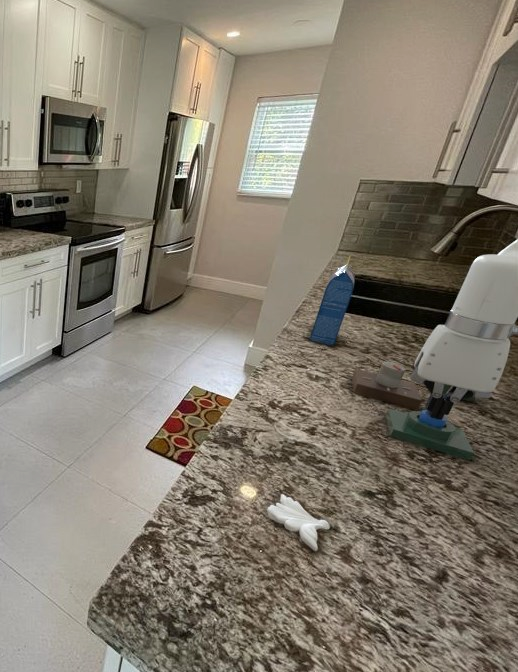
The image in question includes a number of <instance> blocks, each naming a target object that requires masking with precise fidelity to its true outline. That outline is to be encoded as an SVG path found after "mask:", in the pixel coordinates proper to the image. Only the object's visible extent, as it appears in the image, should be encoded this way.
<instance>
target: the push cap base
mask: <svg viewBox="0 0 518 672" xmlns="http://www.w3.org/2000/svg"><path fill="white" fill-rule="evenodd" d="M420 413H421V411H419V410H413V411H409V412H408V413H406V412H403V411H399V410H396V409H393V408H387V410H386V411H385V415H384V416H385V420H386V425H387V429H388V434H389V437H390V438H393V439H397V440H400V441H404V442H407V443H411V444H414V445H416V446H421V447H424V448H426V449H430V450H433V451H437V452H440V453H443V454H446V455H450V456H452V457H456V458H460V459H463V460H466V461H471V460H472V459H473V457H474V455H475V451H474V449H473V448H472V446H471V444H470V442H469V440H468V438H467V436H466V434H465V432H464V430H463V429H462V428H460V427H457V426H455V425H454V424H453V423H452V422H450V421H448V420H447V422H446V424H445V426H444V428H438V427H434V426H431V425H428V424H426V423H424V422H422V421H420V420H419V419H418V418H419V416H420Z"/></svg>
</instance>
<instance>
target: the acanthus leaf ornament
mask: <svg viewBox="0 0 518 672" xmlns="http://www.w3.org/2000/svg"><path fill="white" fill-rule="evenodd" d="M266 511H267V513H266V514H267V517H268V518H269V519H271V520H272V521H274V522H276V523H278V524H281V525H283V526H284V528H285V529H286V530H288V531H290V532H299V537H300V539H301V540H302V542H303V543H305V544H306V545H307V546H308V547H309V548H310V549H311V550H312V551H314V552H317V551H318V549H319V548H318V544H317V543H318V539H319V538H318V532H317V530H319V529H323V530H329V529H330V528H331V527H330V523H329V522H328V521H327V520H324V519H317V518H315V517H313V516H312V515H311V514H310V513H308V512H307V511H306V510H305V509H304V507H303V506H302V505H301V504H300V502H298V501H297V500H294V499H293V498H292V497H290V496H286V495H285V494H284V493H282V494H280V499H279V502H276V503H275V505H274V504H270V505H269V506H268V507H267V509H266Z"/></svg>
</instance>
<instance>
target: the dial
mask: <svg viewBox="0 0 518 672" xmlns="http://www.w3.org/2000/svg"><path fill="white" fill-rule="evenodd" d="M406 370H407V369H406V367H405V366H403V365H401V364H399V363H395V362H390V361H383V362H382V363H381V365H380V367H379V370H378V373H377V374H378V375H377V378H376V382H377V383H379V384H381V385H383V386H386V387H391V388H397V387H398V386H399V384H400V381H401V380H402V379H403V377H404V375H405V373H406Z"/></svg>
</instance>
